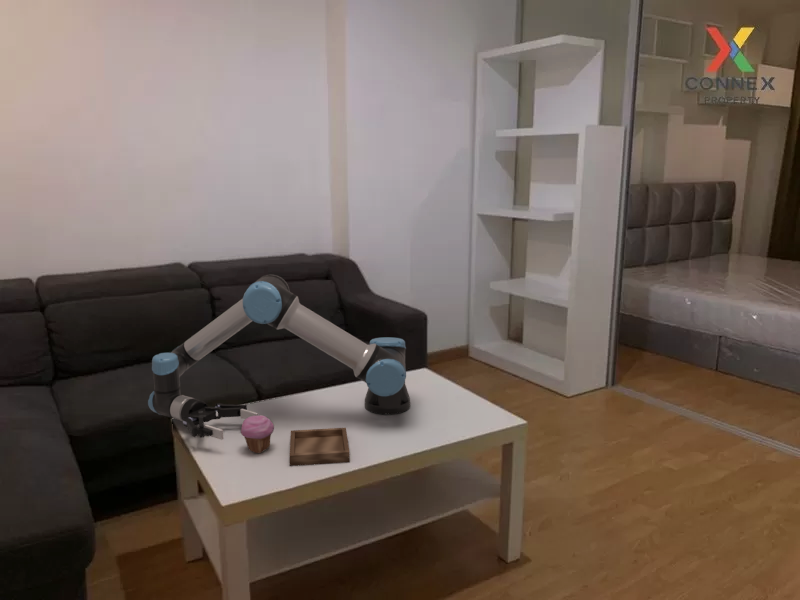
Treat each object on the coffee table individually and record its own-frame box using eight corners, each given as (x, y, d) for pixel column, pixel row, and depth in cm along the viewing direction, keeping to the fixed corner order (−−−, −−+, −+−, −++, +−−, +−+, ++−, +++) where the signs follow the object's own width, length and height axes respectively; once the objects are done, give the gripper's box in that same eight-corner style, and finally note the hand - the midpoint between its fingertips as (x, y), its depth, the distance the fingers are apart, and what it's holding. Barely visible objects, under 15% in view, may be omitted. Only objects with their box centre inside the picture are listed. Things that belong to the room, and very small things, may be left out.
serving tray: (346, 436, 190) (345, 427, 189) (349, 462, 174) (349, 452, 173) (291, 440, 187) (290, 430, 187) (289, 466, 172) (289, 455, 171)
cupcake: (260, 459, 175) (259, 425, 173) (235, 453, 179) (233, 419, 177) (280, 446, 183) (279, 413, 181) (256, 440, 187) (254, 408, 185)
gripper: (221, 408, 205) (271, 423, 194) (155, 437, 184) (207, 455, 173) (220, 386, 203) (270, 399, 192) (153, 412, 183) (205, 429, 172)
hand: (240, 426), depth 183 cm, fingers open, 13 cm apart
